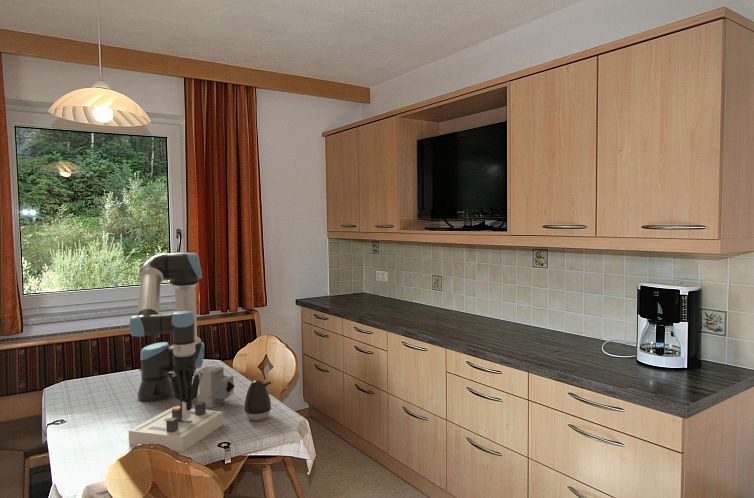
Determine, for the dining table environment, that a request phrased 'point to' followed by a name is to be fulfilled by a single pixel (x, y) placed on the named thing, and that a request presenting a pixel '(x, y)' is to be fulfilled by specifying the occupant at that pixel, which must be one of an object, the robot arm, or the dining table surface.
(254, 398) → the pump dispenser
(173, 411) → the block
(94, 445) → the dining table surface
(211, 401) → the circuit breaker
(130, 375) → the dining table surface
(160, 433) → the breaker panel
